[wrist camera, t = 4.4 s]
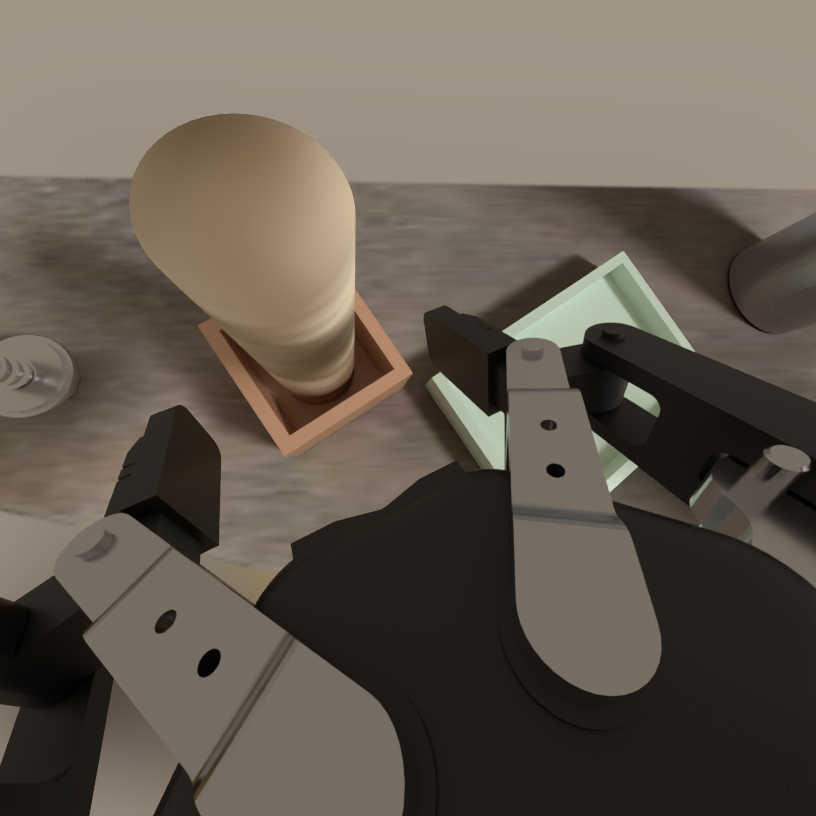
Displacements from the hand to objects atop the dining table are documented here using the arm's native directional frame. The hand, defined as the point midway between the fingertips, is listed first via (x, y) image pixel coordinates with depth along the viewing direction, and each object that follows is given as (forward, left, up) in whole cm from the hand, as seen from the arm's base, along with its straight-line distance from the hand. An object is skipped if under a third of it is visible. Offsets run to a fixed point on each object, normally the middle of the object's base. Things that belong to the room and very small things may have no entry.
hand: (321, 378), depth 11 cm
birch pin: (-1, -4, -12) cm, 12 cm away
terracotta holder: (-1, -4, -12) cm, 13 cm away
